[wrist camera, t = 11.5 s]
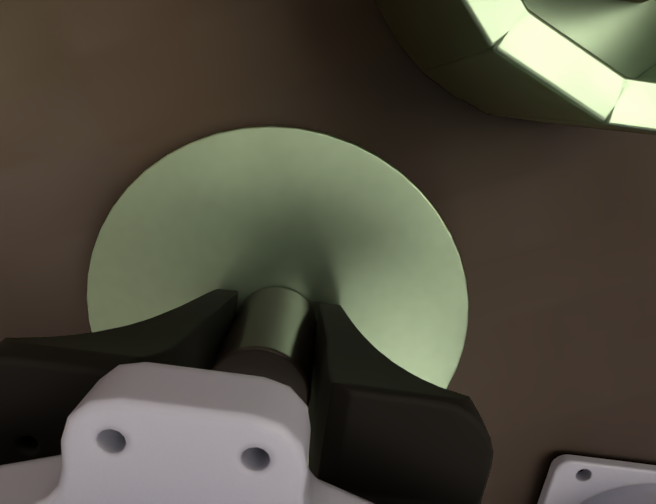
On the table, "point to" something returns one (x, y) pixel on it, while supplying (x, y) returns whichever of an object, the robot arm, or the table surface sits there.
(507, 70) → the canister
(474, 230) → the table surface
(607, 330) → the table surface
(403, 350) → the lid
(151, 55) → the table surface
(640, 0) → the block
